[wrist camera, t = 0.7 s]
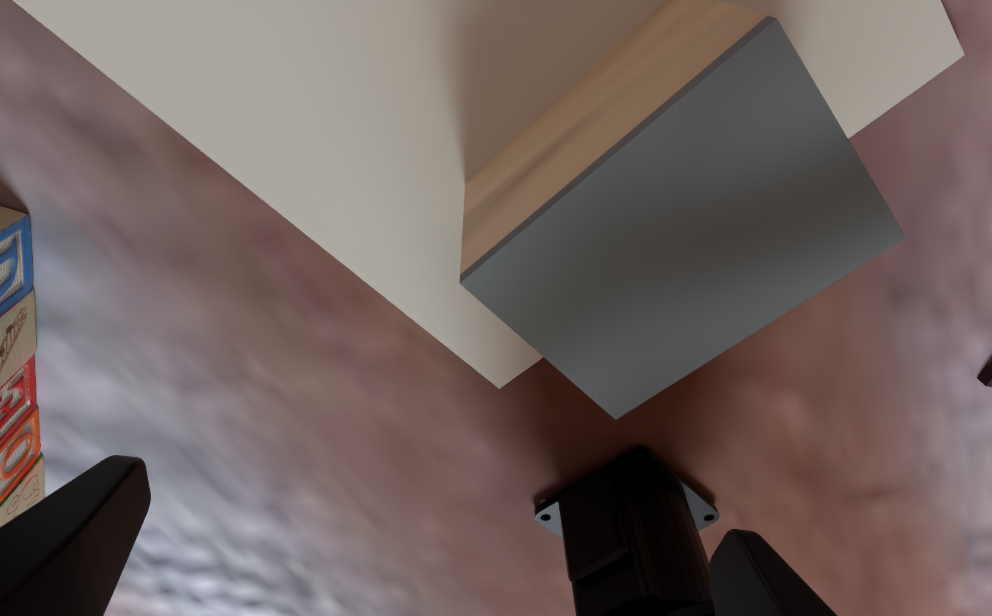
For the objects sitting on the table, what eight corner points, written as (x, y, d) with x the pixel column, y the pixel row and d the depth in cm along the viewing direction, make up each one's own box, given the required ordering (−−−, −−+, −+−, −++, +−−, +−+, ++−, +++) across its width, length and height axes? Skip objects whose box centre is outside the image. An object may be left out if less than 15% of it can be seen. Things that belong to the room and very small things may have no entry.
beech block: (787, 149, 18) (906, 237, 13) (582, 300, 21) (615, 419, 16) (679, -13, 15) (776, 18, 10) (464, 184, 18) (459, 283, 13)
